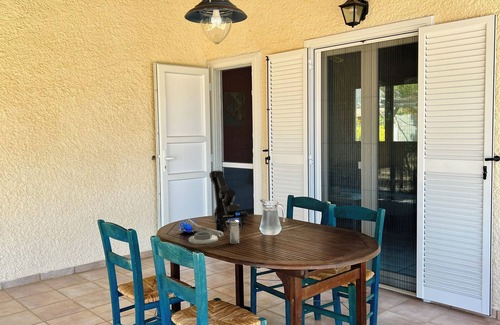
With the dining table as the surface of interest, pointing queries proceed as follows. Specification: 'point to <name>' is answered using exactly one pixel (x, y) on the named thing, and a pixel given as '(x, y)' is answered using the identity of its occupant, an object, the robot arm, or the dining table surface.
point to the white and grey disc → (203, 238)
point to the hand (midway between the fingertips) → (234, 229)
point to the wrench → (203, 228)
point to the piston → (234, 231)
